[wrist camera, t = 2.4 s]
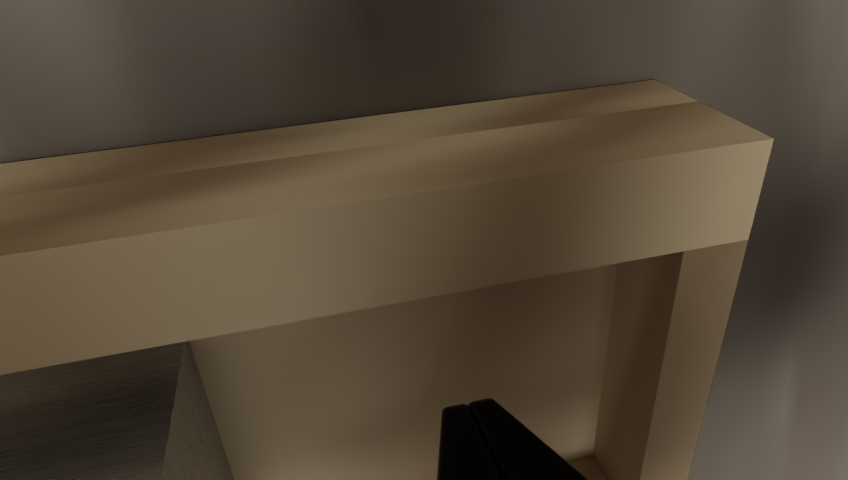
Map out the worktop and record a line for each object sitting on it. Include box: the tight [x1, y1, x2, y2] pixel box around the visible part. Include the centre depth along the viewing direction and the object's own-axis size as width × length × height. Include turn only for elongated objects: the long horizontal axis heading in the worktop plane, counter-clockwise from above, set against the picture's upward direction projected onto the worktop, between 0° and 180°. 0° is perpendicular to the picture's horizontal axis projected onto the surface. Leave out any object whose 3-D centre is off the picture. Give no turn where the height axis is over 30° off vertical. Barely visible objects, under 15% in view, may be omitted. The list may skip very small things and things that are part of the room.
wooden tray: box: [0, 80, 774, 480], centre depth 10 cm, size 18×9×3 cm, turn 93°
